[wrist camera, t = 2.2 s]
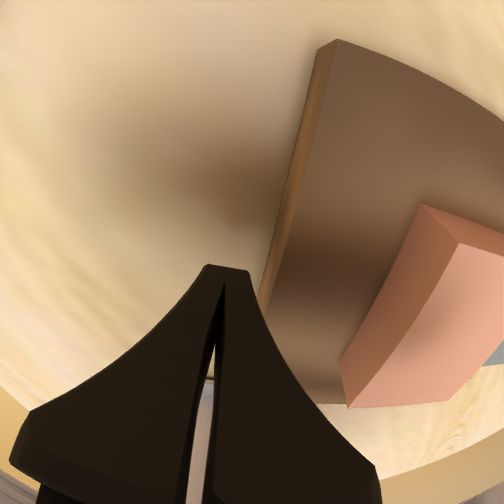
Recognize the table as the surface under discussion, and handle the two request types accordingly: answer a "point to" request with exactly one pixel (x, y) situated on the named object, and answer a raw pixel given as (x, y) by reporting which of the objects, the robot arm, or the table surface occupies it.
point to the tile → (429, 315)
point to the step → (367, 198)
